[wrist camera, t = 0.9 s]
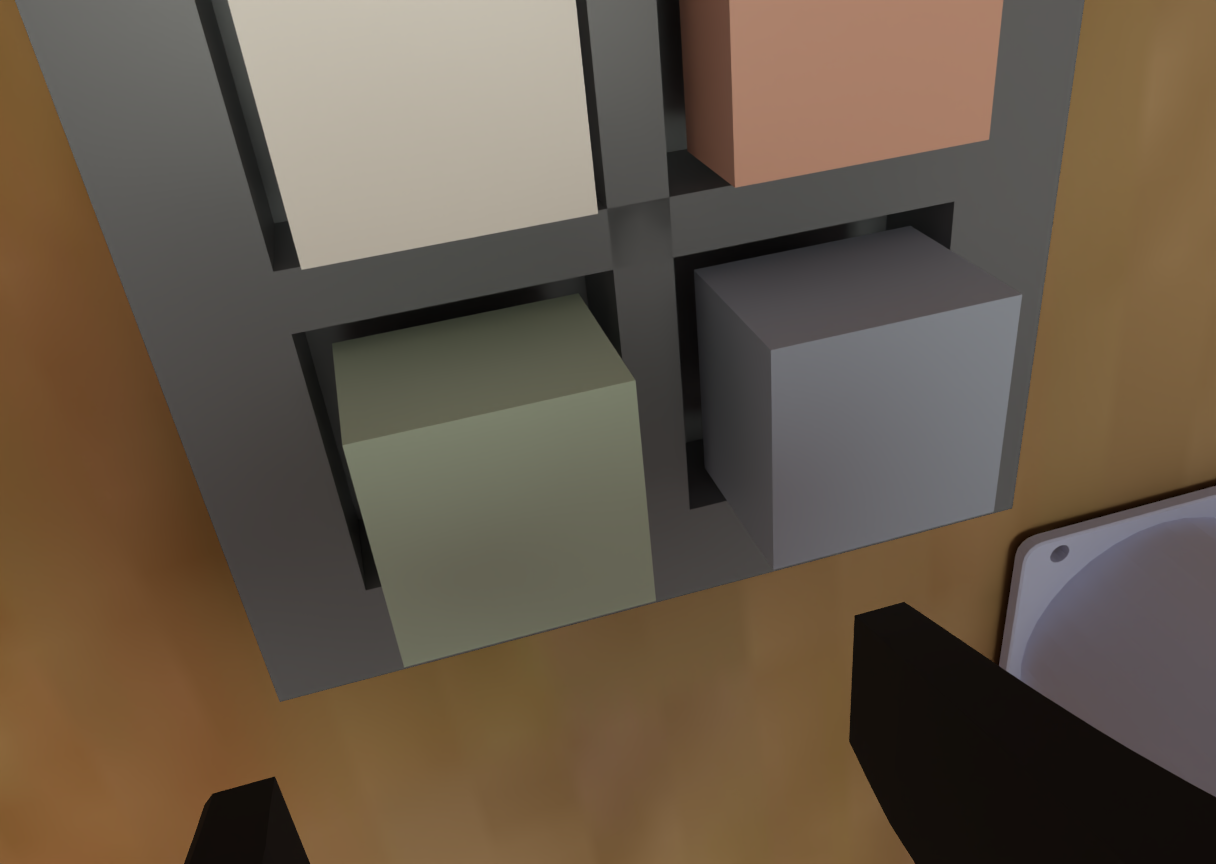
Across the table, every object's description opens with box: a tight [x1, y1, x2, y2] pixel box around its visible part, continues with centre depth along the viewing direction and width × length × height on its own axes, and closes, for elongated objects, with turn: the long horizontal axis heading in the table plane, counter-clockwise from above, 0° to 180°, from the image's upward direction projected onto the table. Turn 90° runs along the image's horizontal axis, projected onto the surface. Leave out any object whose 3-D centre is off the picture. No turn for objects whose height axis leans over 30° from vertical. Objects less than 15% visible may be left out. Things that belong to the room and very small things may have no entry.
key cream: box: [228, 0, 598, 270], centre depth 13 cm, size 4×4×2 cm
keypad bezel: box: [15, 0, 1084, 702], centre depth 17 cm, size 15×15×3 cm
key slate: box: [694, 226, 1022, 570], centre depth 17 cm, size 4×4×3 cm
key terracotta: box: [679, 0, 1003, 188], centre depth 14 cm, size 4×4×2 cm
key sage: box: [332, 293, 656, 667], centre depth 16 cm, size 4×4×3 cm
